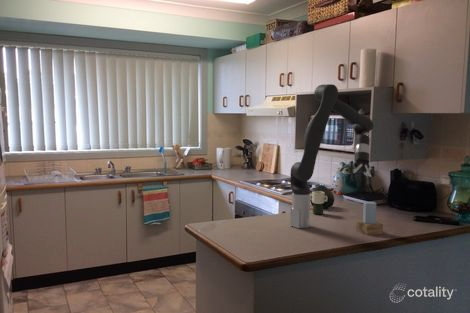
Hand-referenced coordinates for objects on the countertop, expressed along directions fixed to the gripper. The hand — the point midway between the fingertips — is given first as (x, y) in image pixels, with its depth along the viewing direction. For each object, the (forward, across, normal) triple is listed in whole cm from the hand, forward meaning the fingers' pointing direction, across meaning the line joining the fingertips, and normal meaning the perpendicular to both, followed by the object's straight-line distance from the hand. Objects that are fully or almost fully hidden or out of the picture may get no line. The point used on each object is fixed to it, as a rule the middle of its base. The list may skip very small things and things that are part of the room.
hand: (360, 182), depth 214 cm
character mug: (+12, -6, +36) cm, 38 cm away
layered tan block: (+26, +4, -2) cm, 26 cm away
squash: (+3, +2, +50) cm, 50 cm away
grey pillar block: (+21, +3, -4) cm, 22 cm away
